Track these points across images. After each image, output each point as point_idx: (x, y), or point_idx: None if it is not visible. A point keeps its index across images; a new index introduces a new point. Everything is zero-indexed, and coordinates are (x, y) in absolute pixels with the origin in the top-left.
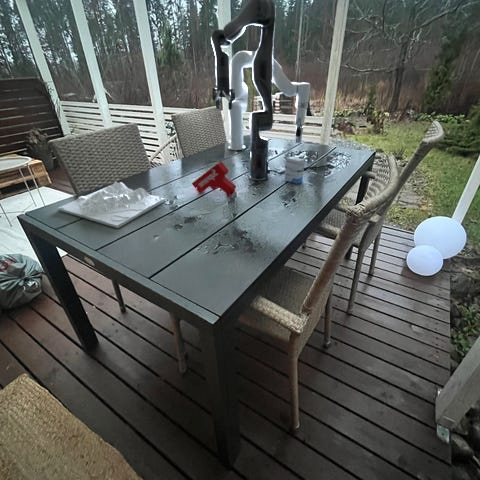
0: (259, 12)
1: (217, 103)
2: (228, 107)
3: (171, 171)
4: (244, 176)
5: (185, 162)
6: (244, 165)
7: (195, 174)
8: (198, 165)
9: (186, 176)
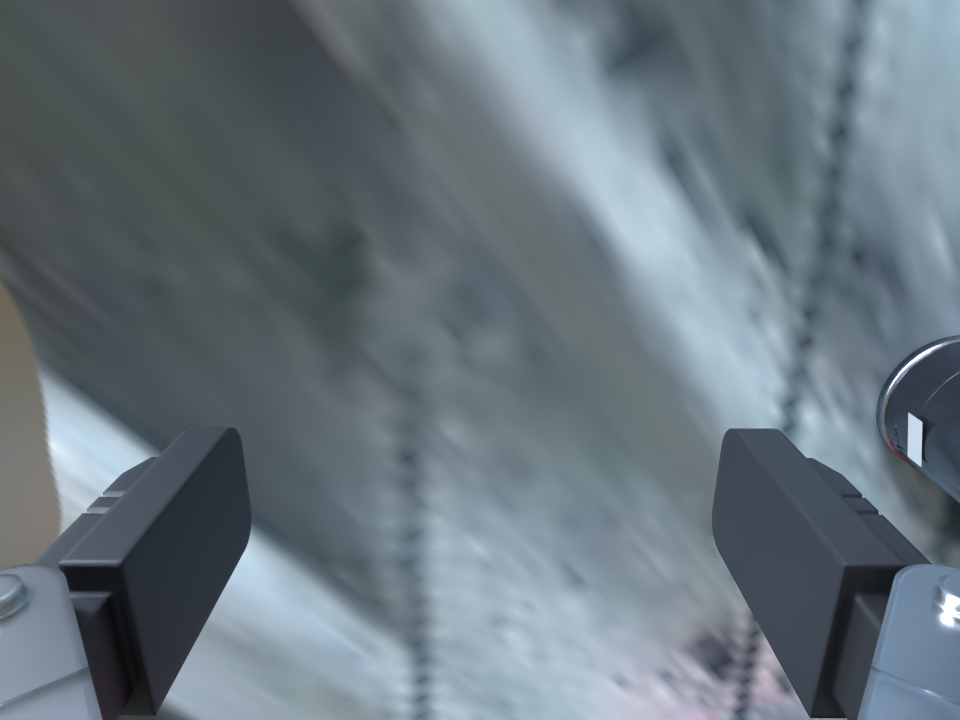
0: None
1: (182, 645)
2: (733, 577)
3: (259, 618)
4: (824, 428)
5: (149, 412)
6: (692, 179)
7: (458, 578)
8: (314, 415)
9: (433, 633)
